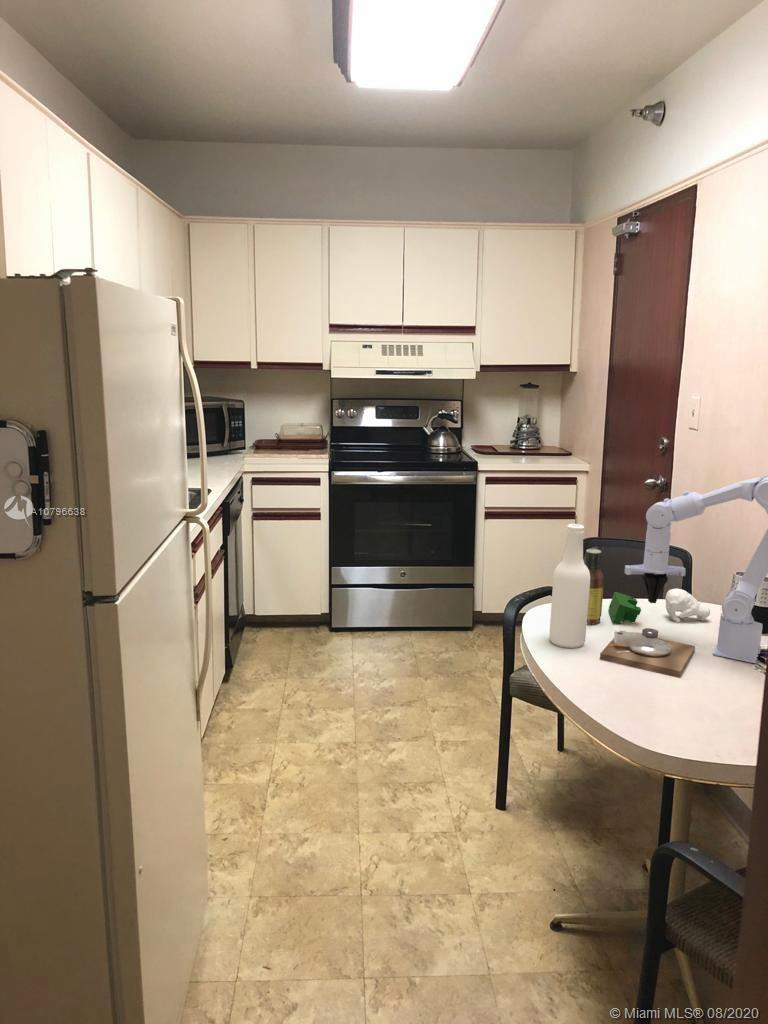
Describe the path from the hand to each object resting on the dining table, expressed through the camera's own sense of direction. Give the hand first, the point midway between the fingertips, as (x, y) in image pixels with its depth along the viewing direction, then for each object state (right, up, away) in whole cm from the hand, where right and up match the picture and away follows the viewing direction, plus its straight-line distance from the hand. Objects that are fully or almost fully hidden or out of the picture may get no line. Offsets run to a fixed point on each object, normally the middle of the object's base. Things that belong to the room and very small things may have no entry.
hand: (652, 601), depth 190 cm
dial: (-6, -10, -10) cm, 15 cm away
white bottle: (-22, -10, -3) cm, 25 cm away
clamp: (-2, -7, +15) cm, 16 cm away
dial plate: (-5, -12, -10) cm, 16 cm away
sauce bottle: (-13, -7, +12) cm, 19 cm away
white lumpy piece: (+15, -7, +15) cm, 22 cm away
